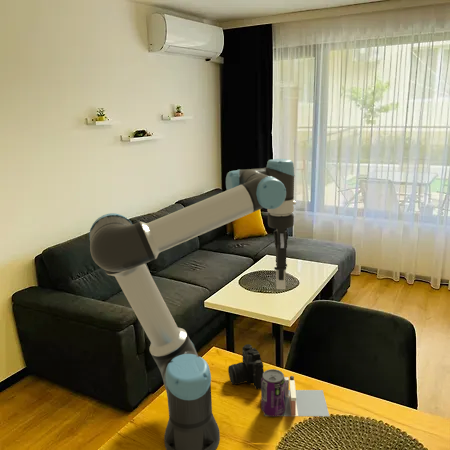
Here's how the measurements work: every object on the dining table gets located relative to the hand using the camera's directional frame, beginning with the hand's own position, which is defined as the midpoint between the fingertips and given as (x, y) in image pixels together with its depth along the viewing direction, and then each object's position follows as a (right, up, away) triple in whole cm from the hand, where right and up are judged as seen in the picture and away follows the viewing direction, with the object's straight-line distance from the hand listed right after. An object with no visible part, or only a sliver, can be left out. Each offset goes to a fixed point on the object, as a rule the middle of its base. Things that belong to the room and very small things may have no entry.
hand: (280, 288), depth 132 cm
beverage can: (-3, -36, -2) cm, 37 cm away
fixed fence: (0, -34, +4) cm, 34 cm away
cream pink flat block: (+3, -35, -1) cm, 36 cm away
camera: (-10, -33, +14) cm, 37 cm away
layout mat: (+4, -35, +1) cm, 36 cm away
